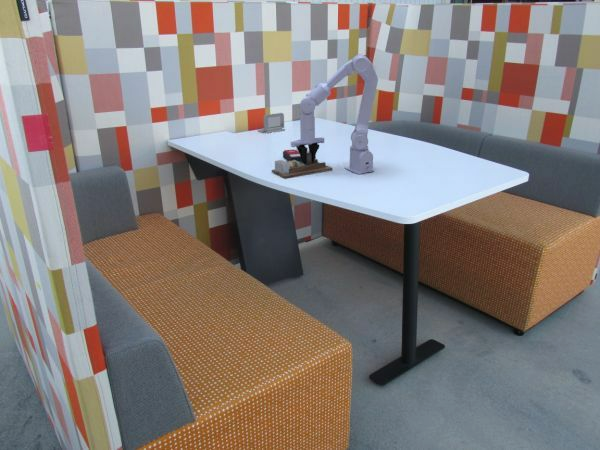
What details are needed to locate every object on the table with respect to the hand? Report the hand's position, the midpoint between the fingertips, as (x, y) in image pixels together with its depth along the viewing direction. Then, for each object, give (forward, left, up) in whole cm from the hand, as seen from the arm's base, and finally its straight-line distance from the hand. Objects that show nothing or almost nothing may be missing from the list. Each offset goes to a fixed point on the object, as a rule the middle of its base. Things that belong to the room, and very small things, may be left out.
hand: (307, 162), depth 204 cm
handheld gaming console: (+81, -24, -4) cm, 84 cm away
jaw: (0, +2, -2) cm, 3 cm away
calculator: (+16, -5, -4) cm, 18 cm away
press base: (0, +3, -3) cm, 4 cm away
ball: (0, +8, 0) cm, 8 cm away
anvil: (0, +12, -3) cm, 12 cm away
